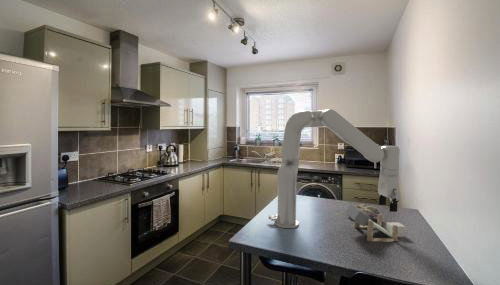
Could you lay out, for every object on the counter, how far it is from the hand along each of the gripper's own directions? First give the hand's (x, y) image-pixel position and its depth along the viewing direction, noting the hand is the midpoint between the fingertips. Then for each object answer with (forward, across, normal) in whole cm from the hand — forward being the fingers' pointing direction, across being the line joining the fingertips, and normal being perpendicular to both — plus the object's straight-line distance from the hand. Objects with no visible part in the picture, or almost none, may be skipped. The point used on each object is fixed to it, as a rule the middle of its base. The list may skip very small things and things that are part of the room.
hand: (387, 207), depth 119 cm
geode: (+13, -21, -2) cm, 25 cm away
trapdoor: (+9, 0, -9) cm, 13 cm away
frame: (+13, 0, -5) cm, 14 cm away
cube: (+10, 0, +1) cm, 11 cm away
